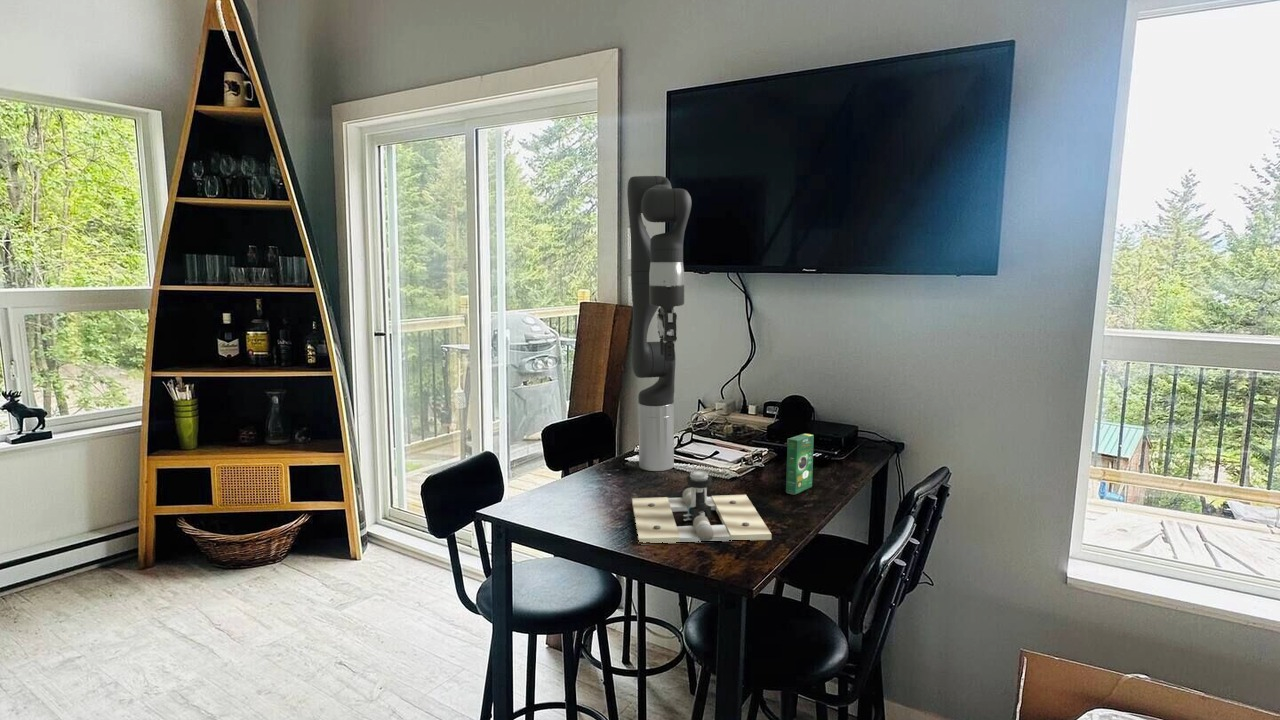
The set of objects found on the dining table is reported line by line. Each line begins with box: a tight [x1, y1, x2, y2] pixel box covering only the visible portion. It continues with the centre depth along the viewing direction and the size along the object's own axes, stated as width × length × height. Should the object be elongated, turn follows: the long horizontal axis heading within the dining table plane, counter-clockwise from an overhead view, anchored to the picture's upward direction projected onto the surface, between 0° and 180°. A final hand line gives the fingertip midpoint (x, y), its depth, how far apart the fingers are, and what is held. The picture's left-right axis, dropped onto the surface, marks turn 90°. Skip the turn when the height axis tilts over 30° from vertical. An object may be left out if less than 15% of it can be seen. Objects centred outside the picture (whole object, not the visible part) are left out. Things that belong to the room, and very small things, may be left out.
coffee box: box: [785, 432, 815, 495], centre depth 166 cm, size 8×3×13 cm, turn 137°
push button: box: [682, 470, 713, 523], centre depth 148 cm, size 7×5×10 cm
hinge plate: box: [631, 487, 772, 544], centre depth 148 cm, size 23×26×3 cm
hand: (667, 357), depth 154 cm, fingers open, 8 cm apart
